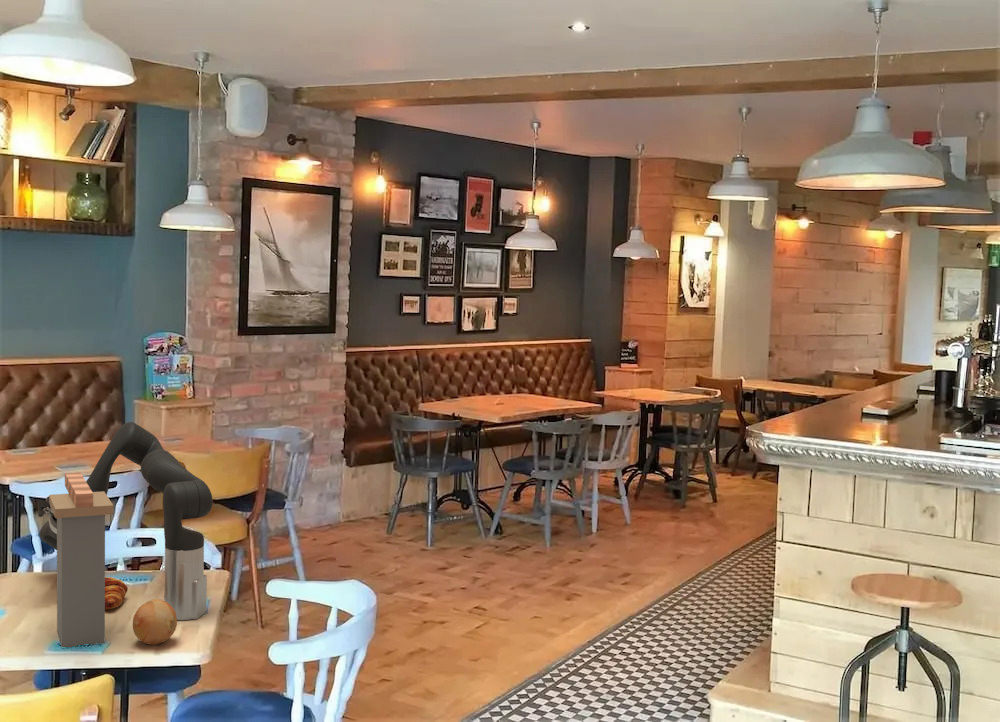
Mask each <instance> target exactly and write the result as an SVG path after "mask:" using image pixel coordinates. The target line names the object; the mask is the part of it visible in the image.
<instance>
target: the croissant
mask: <svg viewBox="0 0 1000 722" xmlns="http://www.w3.org/2000/svg"><path fill="white" fill-rule="evenodd" d="M128 589H129V588H128V585H127V584H126V583H125V582H124V581H123V580H121V579H119V578H115V577H111V576H109V577H107V576H105V611H106V610H112V609H115V608H119V607H120V605H122V603H123V602H124V600H125V597H126V595H127V592H128Z"/></svg>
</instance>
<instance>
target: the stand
mask: <svg viewBox="0 0 1000 722" xmlns="http://www.w3.org/2000/svg"><path fill="white" fill-rule="evenodd" d="M48 497H49V504H50V507H51V509H52V511H53V514H54V516H55V518H57V550H56V632H57V636H58V639H59V643H61V644H60V646H61V647H60V648H62V647H68V648H73V647H72V646H76V647H78V646H77V645H84V644H92V645H97V644H96V643H100V644H105V643H104V642H106V640H105V637H106V633H105V631H106V630H105V628H106V627H105V626H106V623H105V622H106V617H105V616H106V614H105V613H106V609H105V577H106V515H114V504H113V503H112V501H111V500H110V498H109V496H108V494H107V495H106V493H105V492H104V491H102V492H93V507H81V508H76V506H75V505H74V503H73V501H72V499H71V497H70V495H69V493H59V494H57V493H55V494H49V495H48ZM84 646H85V645H84Z"/></svg>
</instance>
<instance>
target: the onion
mask: <svg viewBox="0 0 1000 722" xmlns="http://www.w3.org/2000/svg"><path fill="white" fill-rule="evenodd" d="M177 626H178V620H177V617H176V613H175V611H174V609H173V608H172V606H171V605H170V604H168V603H167V602H165V600H163V599H158V598H155V599H150V600H148V601H146V602H145V603H143V604H141V605H140V606H139V607H138V608H137V610H135V613H134V615H133V618H132V630H133V633H134V635H135V636H136V638H137V639H138V640H139V641H141V643H143V644H144V643H145V644H148V645H154V646H155V645H158V644H161V643H163V642H165V641H167V640H170V638H171V637H172V636H173V635H174V633H175V632H176V631H177Z"/></svg>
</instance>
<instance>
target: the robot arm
mask: <svg viewBox="0 0 1000 722" xmlns="http://www.w3.org/2000/svg"><path fill="white" fill-rule="evenodd" d="M119 456H122V457H124V458H126V460H129V461H130V462H132V463H134V464H136V465H138V466H140V472H141V475H142V477H143V479H144V480H145V481H146V482H147V484H148V485H149V486H151V488H152V489H154V490H156V491H157V492H161V493H163V494H162V495H163V496H162V507H163V508H162V510H163V535H164V597H163V598H164V600H163V601H165V602H167V603H168V604H170V605H171V606H172V608H173V609H174V611H175V613H176V617H177V621H188V620H199V618H200V617H202V616H203V615H205V612H206V613H207V605H208V604H207V603H208V602H207V601H208V600H207V595H208V594H207V593H208V591H207V590H208V589H207V588H208V587H207V586H208V576H207V574H204V573H205V572H204V570H205V569H204V568H205V566H204V565H205V561H204V560H205V558H204V557H205V536H204V533H201V532H200V531H197V530H189V529H186V528H184V527H185V526H183V524H182V521H183V520H191V519H198V518H203V517H205V516H208V514H209V513H210V512H211V510H212V508H213V503H214V502H213V501H214V499H213V495H212V492H211V490H210V488H209V486H208V484H207V483H206V482H205V481H204V480H203V479H201V478H199V477H197V476H196V475H194V474H193V473H192V472H191V471H189V470H188V469H187V468H186V467H184V466H183V465H182V463H180V462H179V460H178V459H177V458H176V457H175V456H174V455H173V454H172V453H170V452H168V450H166V449H165V448H164V447H163V446H162V444H161V442H160V441H159V439H158V438H157V437H156V436H155V435H154V434H153V433H152V432H150V431H149V430H147V429H145V428H144V427H142V426H141V425H139V424H137V423H135V422H133V421H128V422H126V423H124V424H122V425H121V426H120V427H119V429H118V430H117V431H116V432H115V433H114V435H113V436H112V438H111V439H110V440H109V442H108V444H107V446H106V447H105V449H104V451H103V453H102V454H101V456H100V458H99V460H98V461H97V463H96V465H95V466H94V468H93V470H91V471H92V472H91V473H90V475H89V477H88V478H87V480H85V481H86V482H87V484H88V486H89V487H90V489H91V491H92V492H102V491H104V492H105V493H106V495H107V496H108V491H109V485H110V476H111V472H112V468H113V465H114V463H115V461H116V460H117V459H118V457H119ZM46 514H49V518H48V520H47V521H46V522H45V523H44V524H43V525H42V527H41V528H40V530H39V534H38V535H39V537H40V539H41V540H42V542H43V543H45V544H47V545H49V547H51V548H53V549H54V550H55V551H57V518H55V516H54V514H53V511H52V509H51V507H50V504H49V496H47V497H46V499H45V501H44V500H43V499H39V500H37V516H38V518H42V517H44V516H45V515H46Z"/></svg>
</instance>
